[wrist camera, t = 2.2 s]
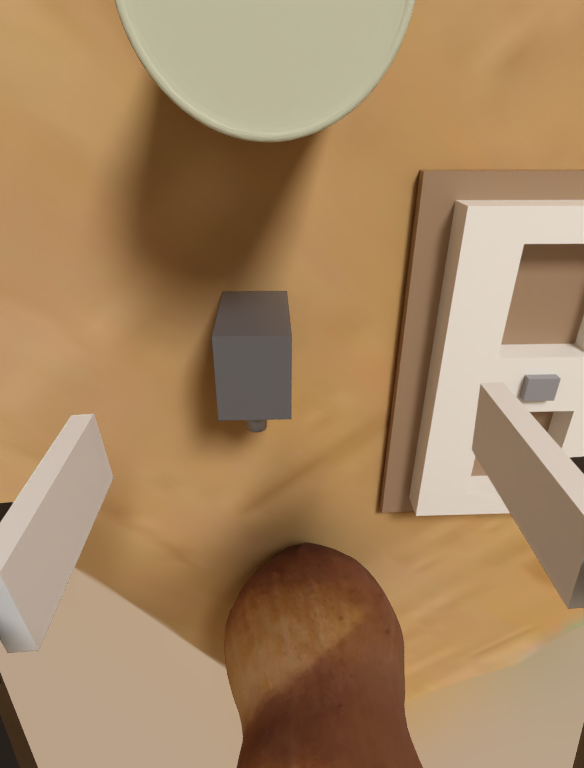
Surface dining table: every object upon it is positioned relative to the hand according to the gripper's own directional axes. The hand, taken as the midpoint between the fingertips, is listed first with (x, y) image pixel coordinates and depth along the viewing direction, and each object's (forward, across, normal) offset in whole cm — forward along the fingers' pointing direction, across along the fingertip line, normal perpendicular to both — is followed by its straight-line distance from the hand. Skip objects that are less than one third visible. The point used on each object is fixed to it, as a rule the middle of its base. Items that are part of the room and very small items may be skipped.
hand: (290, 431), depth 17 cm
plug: (+16, -2, -2) cm, 16 cm away
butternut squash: (+16, 0, -26) cm, 30 cm away
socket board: (+16, +16, -7) cm, 23 cm away
